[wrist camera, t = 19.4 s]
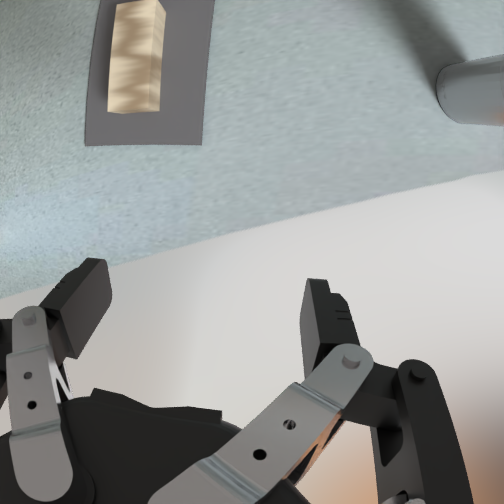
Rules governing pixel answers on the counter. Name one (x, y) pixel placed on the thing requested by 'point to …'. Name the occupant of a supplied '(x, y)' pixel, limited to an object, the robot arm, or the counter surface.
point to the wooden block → (136, 57)
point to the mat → (172, 80)
